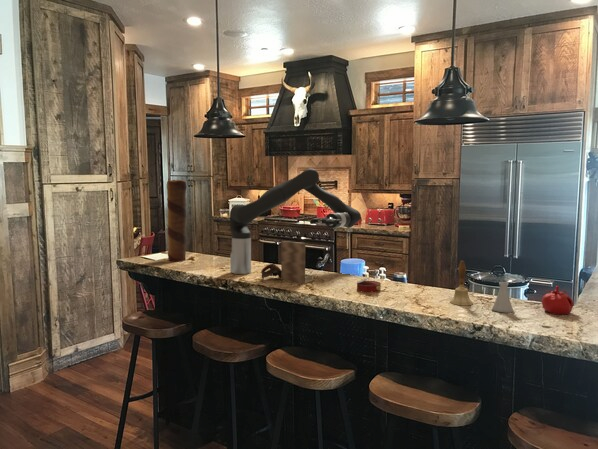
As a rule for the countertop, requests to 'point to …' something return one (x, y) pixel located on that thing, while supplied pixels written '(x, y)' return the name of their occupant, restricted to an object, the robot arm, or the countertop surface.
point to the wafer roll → (176, 219)
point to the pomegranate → (557, 302)
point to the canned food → (369, 285)
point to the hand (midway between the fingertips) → (318, 222)
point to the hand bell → (461, 289)
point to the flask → (503, 300)
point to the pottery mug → (271, 271)
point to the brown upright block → (293, 263)
